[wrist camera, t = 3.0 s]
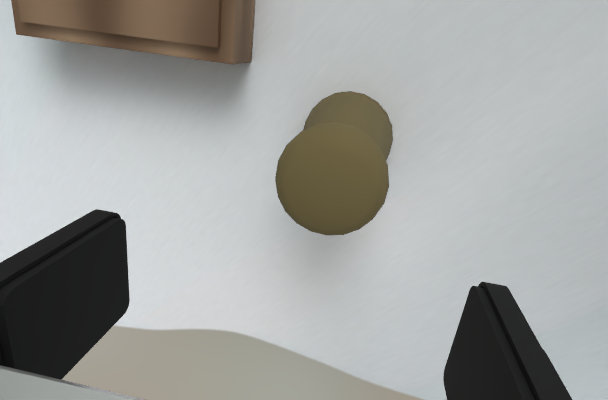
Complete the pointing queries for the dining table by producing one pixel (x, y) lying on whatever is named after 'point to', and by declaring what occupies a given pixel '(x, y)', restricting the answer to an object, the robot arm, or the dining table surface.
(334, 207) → the cork
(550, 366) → the robot arm
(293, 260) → the dining table surface
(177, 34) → the walnut plinth
